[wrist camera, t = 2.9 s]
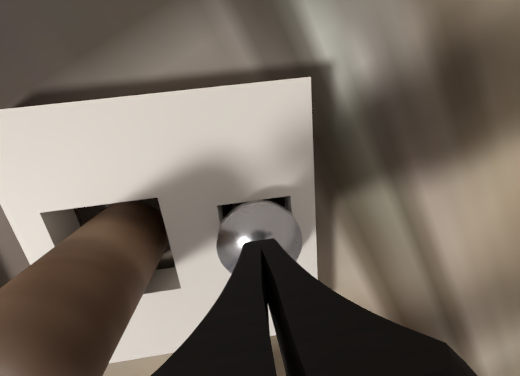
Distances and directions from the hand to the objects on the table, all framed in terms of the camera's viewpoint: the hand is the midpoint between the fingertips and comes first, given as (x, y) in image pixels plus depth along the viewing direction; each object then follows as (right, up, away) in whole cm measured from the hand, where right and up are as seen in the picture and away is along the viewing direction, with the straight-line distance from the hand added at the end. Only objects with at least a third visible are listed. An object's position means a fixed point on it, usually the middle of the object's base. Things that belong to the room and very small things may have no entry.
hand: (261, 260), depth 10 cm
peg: (-7, +1, +4) cm, 8 cm away
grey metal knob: (0, +1, +4) cm, 4 cm away
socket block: (-4, +1, +4) cm, 6 cm away
